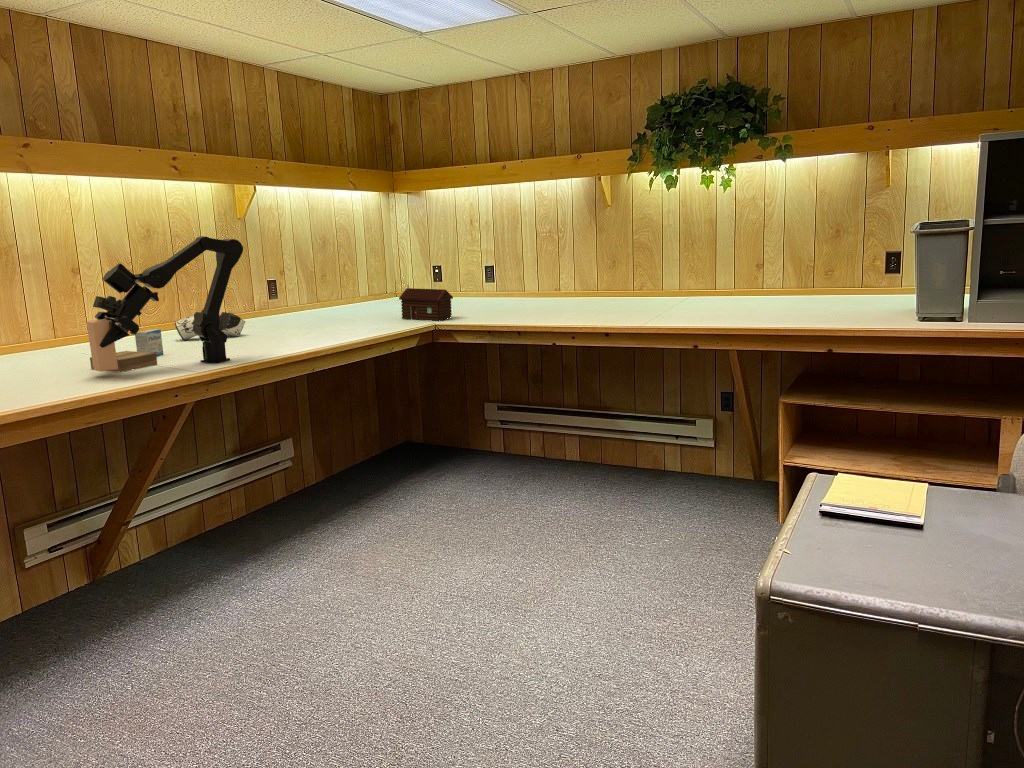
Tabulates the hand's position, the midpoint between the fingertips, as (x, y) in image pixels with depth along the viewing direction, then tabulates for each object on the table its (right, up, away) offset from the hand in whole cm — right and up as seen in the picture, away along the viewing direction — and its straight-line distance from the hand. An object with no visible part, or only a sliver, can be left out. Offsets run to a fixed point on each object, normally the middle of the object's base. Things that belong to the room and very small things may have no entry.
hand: (97, 345), depth 225 cm
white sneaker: (+3, +6, +75) cm, 76 cm away
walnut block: (-1, -6, +18) cm, 19 cm away
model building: (+80, +18, +125) cm, 149 cm away
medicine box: (-1, -2, +36) cm, 36 cm away
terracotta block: (+1, -7, +2) cm, 7 cm away
